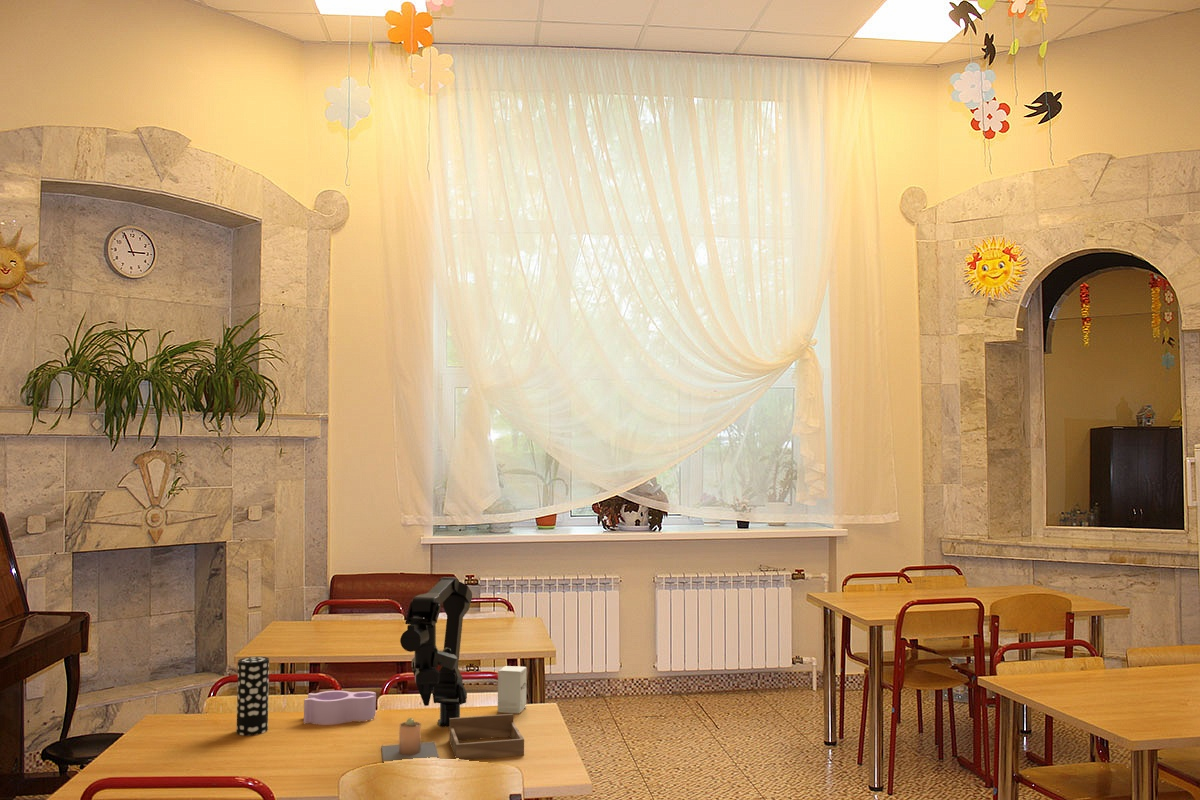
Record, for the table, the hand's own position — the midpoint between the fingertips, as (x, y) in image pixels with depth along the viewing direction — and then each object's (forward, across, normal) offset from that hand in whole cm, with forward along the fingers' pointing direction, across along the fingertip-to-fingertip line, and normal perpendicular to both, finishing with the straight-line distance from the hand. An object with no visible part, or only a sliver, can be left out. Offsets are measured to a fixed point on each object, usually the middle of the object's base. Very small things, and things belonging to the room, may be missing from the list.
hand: (425, 700), depth 256 cm
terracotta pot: (+11, -8, +5) cm, 14 cm away
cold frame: (+11, -8, -15) cm, 21 cm away
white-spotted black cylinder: (+12, +24, +47) cm, 54 cm away
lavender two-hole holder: (+12, +31, +23) cm, 40 cm away
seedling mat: (+11, -8, +5) cm, 14 cm away
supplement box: (+13, +27, -28) cm, 41 cm away
